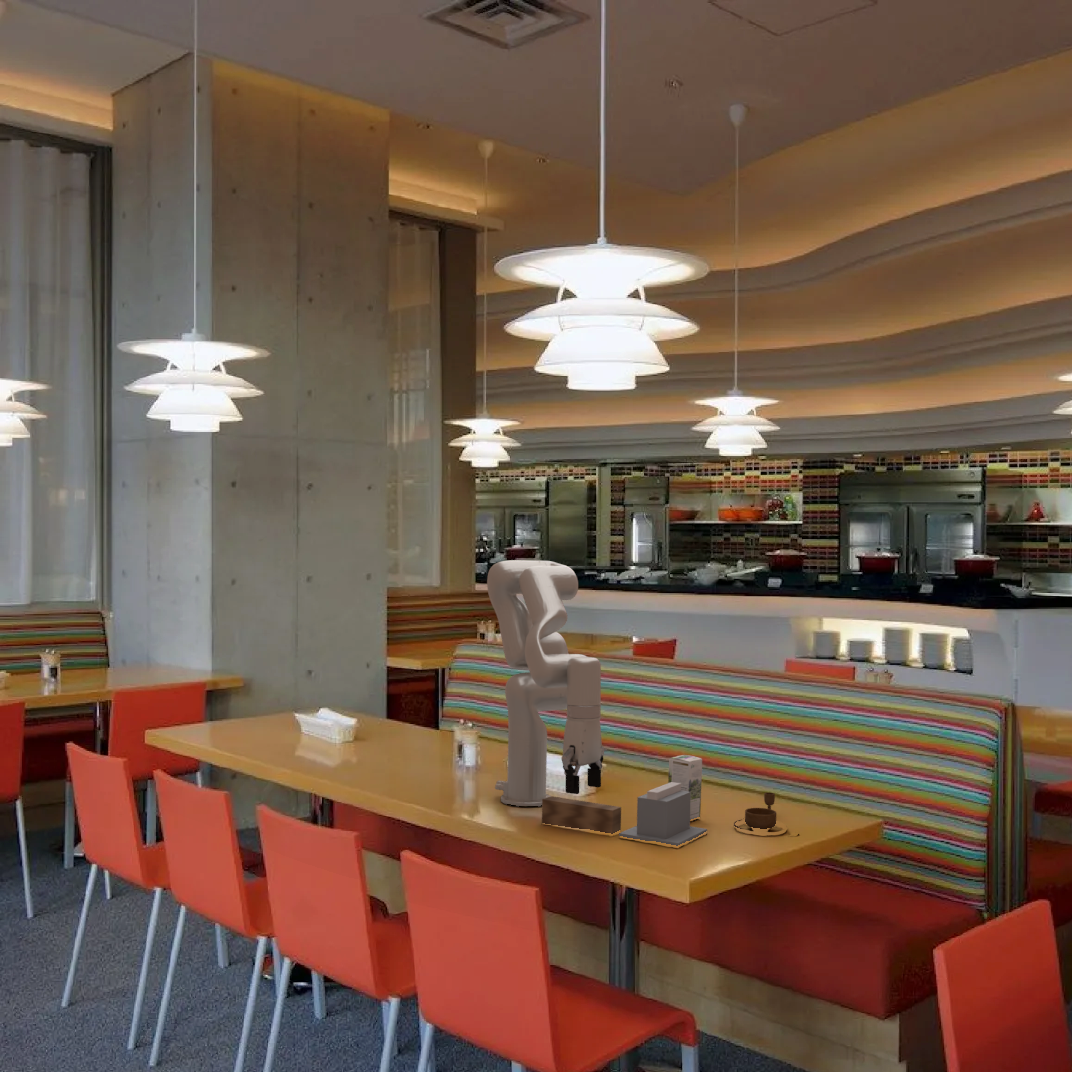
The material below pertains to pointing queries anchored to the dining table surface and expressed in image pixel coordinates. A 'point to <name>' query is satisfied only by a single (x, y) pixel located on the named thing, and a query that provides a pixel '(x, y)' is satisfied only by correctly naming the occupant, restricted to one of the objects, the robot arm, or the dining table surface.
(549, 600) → the robot arm
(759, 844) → the dining table surface
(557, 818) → the walnut bar
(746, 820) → the place setting
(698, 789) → the syrup box
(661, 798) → the stand
